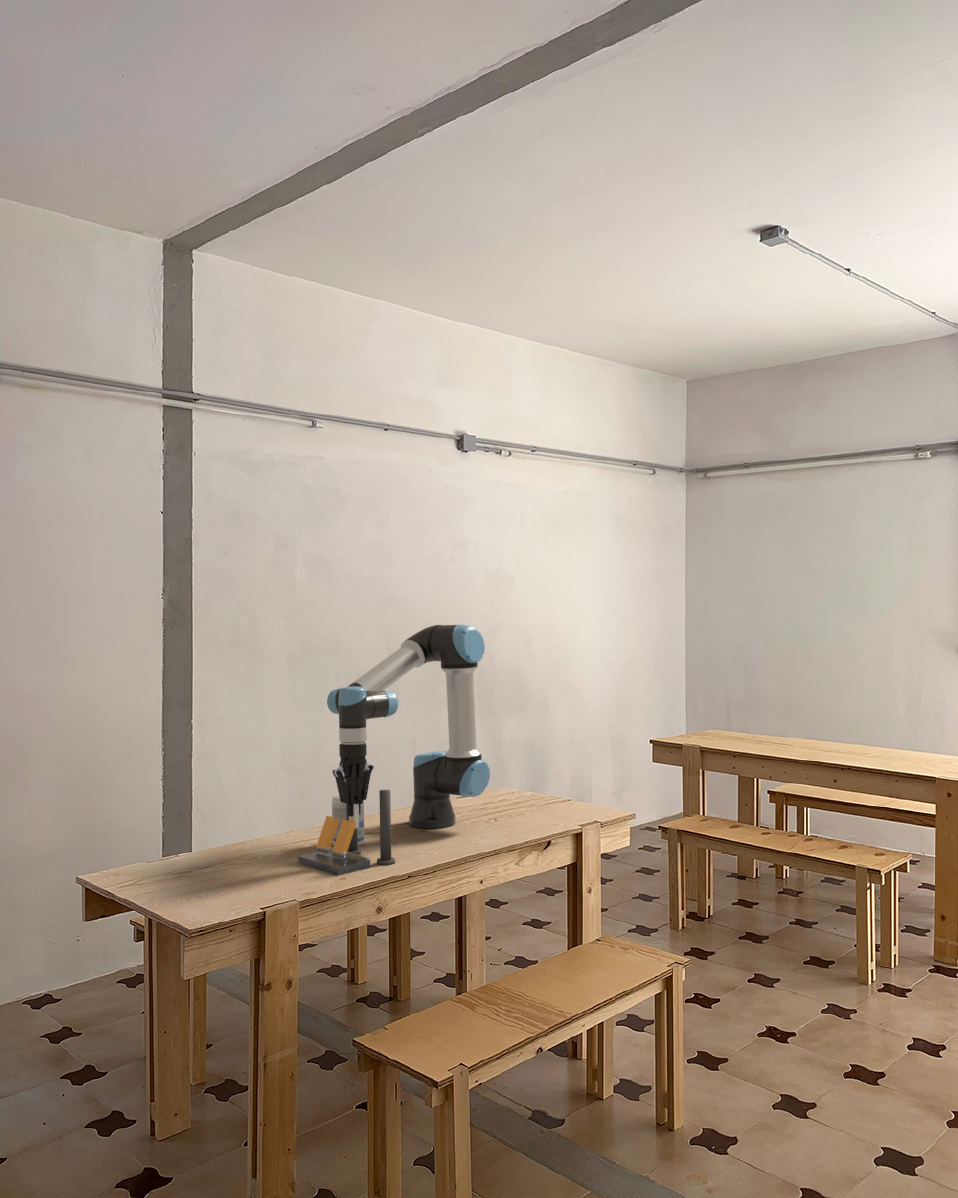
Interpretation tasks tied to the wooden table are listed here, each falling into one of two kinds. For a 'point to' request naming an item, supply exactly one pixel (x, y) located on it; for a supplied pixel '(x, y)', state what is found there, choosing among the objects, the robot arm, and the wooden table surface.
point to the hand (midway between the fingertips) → (353, 827)
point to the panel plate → (334, 862)
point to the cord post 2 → (385, 829)
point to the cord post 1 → (353, 841)
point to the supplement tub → (340, 813)
